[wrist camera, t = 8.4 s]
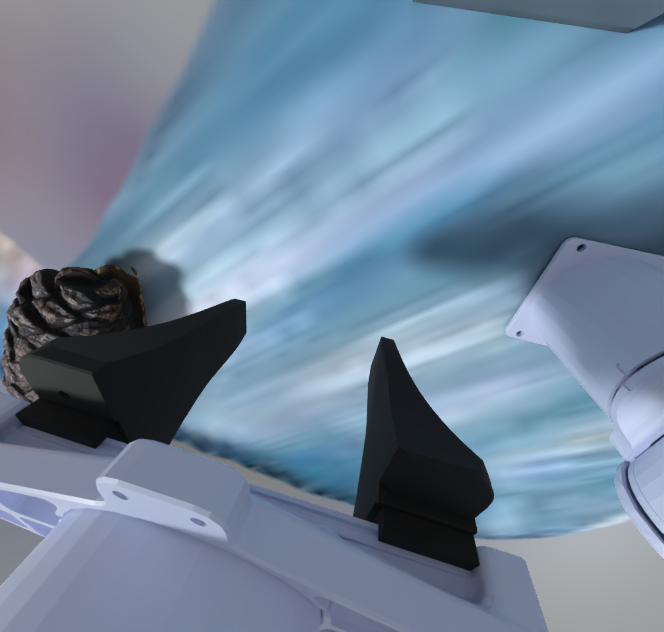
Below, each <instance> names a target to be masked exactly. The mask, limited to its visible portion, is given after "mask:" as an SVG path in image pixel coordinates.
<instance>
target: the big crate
mask: <svg viewBox="0 0 664 632" xmlns="http://www.w3.org/2000/svg"><path fill="white" fill-rule="evenodd" d="M413 2H419V3H426V4H433V5H440V6H446V7H453V8H460V9H466V10H473V11H480V12H487V13H493V14H500V15H507V16H513V17H520V18H527V19H534V20H540V21H547V22H554V23H560V24H567V25H574V26H581V27H587V28H594V29H601V30H607V31H614V32H621V33H628V32H630V31H632V30H634V29H636V28H637V27H639V26H641V25H643V24H645V23H647V22H648V21H650V20H652V19H654V18H656V17H658V16H659V15H661V14H663V13H664V0H413Z"/></svg>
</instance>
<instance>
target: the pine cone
mask: <svg viewBox="0 0 664 632" xmlns="http://www.w3.org/2000/svg"><path fill="white" fill-rule="evenodd" d="M130 268H131V269H132V271H133V272H134V274H135V275H137V273H136V271H135V270H134V268H133V267H131V266H130ZM16 296H17V298H15V299H14V301H13V304H12V305H11V306H10V307H9V309H8V310H7V312H6V313H7V314H8V315H7V319H8V322H9V323H8V326H9V327H8V328H7V329H6V330H5V332H4V334H3V337H4V340H3V347H4V348H5V350H4V352H3V359H2V364H3V366H4V372H3V373H4V377H3V380H2V383H3V384H4V386H5V387H6V389H7V391H8V392H9V393H10V395H11V396H14V397H17V398H20V399H22V400H25V401H26V402H28V403H29V404H31V403H33V402H34V401H36V400H37V399H39V397H38V395H37V394H36V393H35V391H34V390H33V388H32V387H31V386H30V384H29V383H28V381H27V380H26V378H25V377H24V376H23V374H22V372H21V370H20V367H19V361H20V358H21V357H22V356H24V355H26V354H28V353H30V352H32V351H33V350H35V349H37V348H39V347H41V346H43V345H45V344H47V343H48V342H50V341H52V340H54V339H56V338H60V337H75V336H89V335H99V334H108V333H115V332H122V331H128V330H134V329H139V328H144V327H146V322H145V312H144V301H143V294H142V285H141V283H140V281H139V280H138V279H137V278H135V277H133V276H131V275H129V274H127V273H126V272H124V271H123V270H122V269H120V268H118V267H116V266H114V265H105V266H102V267H100V268H98V269H96V270H92V269H89V268H80V267H66V268H62V269H61V271H57V270H54V269H43V270H39V271H36V272H35V273H34V274H33V275H32V276H30V277H29V278H25V279H24V280H23V281H22V282H21V283H20V286H19V288H18V291H17V292H16ZM142 302H143V305H142V304H141V303H142Z"/></svg>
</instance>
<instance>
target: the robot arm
mask: <svg viewBox="0 0 664 632" xmlns="http://www.w3.org/2000/svg"><path fill="white" fill-rule="evenodd" d="M581 244H583V247H582V248H581V249H580V250H577V247H578V246H579V245H581ZM519 331H522V332H521V333H519V334H516V333H517V332H519ZM505 333H506V334H507V336H509V337H513V338H517V339H521V340H525V341H529V342H533V343H537V344H541V345H545V346H549V347H550V348H551V349H552V351H553V352H554V353H555V354H556V355H557V357H558V358H559V359H560V360H561V361H562V363H563V364H564V365H565V366H566V367H567V369H568V370H569V371H570V372H571V373H572V375H573V376H574V377H575V378H576V379H577V381H578V382H579V383H580V384H581V385H582V387H583V388H584V389H585V390H586V391H587V393H588V394H589V395H590V396H591V397H592V399H593V400H594V401H595V402H596V403H597V405H598V406H599V407H600V408H601V409H602V411H603V412H604V413H605V414H606V415H607V417H608V418H609V419H610V420H611V421H612V423H614V430H613V432H612V434H611V435H610V436H609V440H610V441H611V442H612V444H613V445H614V446H615V447H616V449H617V450H618V451H619V453H620V454H621V455H622V457H623V458H624V459H625V461H624V462H623V463H621V464H620V465H619V466H618V468H617V470H616V472H615V477H614V483H615V488H616V492H617V494H618V497H619V499H620V502H621V504H622V505H623V507H624V509H625V511H626V513H627V514H628V516H629V517H630V519H631V520H632V522H633V523H634V524H635V526H636V527H637V529H638V530H639V531H640V533H641V534H642V535H643V536H644V537H645V539H646V540H647V541H648V542H649V544H650V545H651V546H652V547H653V548H654V549H655V550H656V551H657V552H658V553H659V554H660V555H661V557H662V558H663V559H664V256H661V255H657V254H652V253H647V252H643V251H638V250H633V249H629V248H624V247H619V246H615V245H610V244H605V243H600V242H596V241H591V240H586V239H582V238H577V237H571V238H568V239H567V240H565V241H564V242H563V243H562V245H561V246H560V248H559V249H558V251H557V252H556V254H555V255H554V257H553V258H552V260H551V261H550V263H549V264H548V266H547V267H546V269H545V270H544V272H543V273H542V275H541V276H540V278H539V279H538V281H537V282H536V284H535V285H534V287H533V288H532V290H531V291H530V293H529V294H528V295H527V297H526V298H525V300H524V301H523V303H522V304H521V306H520V307H519V309H518V310H517V312H516V313H515V315H514V316H513V318H512V319H511V321H510V322H509V324H508V325H507V327H506V328H505ZM245 334H246V301H242V300H238V299H232V300H229V301H226V302H224V303H221V304H218V305H216V306H213V307H210V308H208V309H205V310H203V311H200V312H197V313H194V314H191V315H188V316H185V317H182V318H179V319H176V320H173V321H169V322H166V323H162V324H158V325H154V326H149V327H144V328H139V329H134V330H128V331H122V332H115V333H108V334H99V335H89V336H75V337H60V338H56V339H54V340H52V341H50V342H48V343H47V344H45V345H43V346H41V347H39V348H37V349H35V350H33V351H32V352H30V353H28V354H26V355H24V356H22V357H21V358H20V361H19V367H20V370H21V372H22V374H23V376H24V377H25V378H26V380H27V381H28V383H29V384H30V386H31V387H32V388H33V390H34V391H35V393H36V394H37V395H38V397H39V399H37V400H36V401H34V402H33V403H31V404H29V403H28V402H26V401H25V400H22V399H20V398H17V397H14V396H11V395H8V394H4V393H1V392H0V518H1V519H4V520H6V521H8V522H11V523H13V524H15V525H18V526H20V527H22V528H25V529H27V530H29V531H32V532H34V533H36V534H39V535H41V536H44V537H45V538H44V540H42V542H41V543H40V544H39V545H38V546H37V547H36V548H35V549H34V550H33V551H32V552H31V554H30V555H29V556H28V557H27V558H26V559H25V560H24V561H23V562H22V563H21V564H20V565H19V567H18V568H17V569H16V570H15V571H14V572H13V573H12V574H11V575H10V576H9V577H8V578H7V579H6V581H5V582H4V583H3V584H2V585H1V586H0V632H548V629H547V626H546V623H545V619H544V617H543V613H542V610H541V608H540V605H539V601H538V598H537V595H536V592H535V589H534V586H533V583H532V580H531V577H530V574H529V571H528V568H527V565H526V562H525V560H524V559H523V558H522V557H519V556H516V555H513V554H509V553H506V552H503V551H500V550H497V549H494V548H490V547H485V546H478V547H476V545H475V540H474V535H475V534H476V533H477V527H476V522H475V518H476V517H477V516H478V515H479V514H480V513H482V512H483V511H484V510H485V509H486V508H488V506H489V505H490V504H491V503H492V501H493V499H494V492H493V489H492V486H491V482H490V479H489V475H488V473H487V470H486V468H485V465H484V462H483V460H482V459H480V458H479V457H478V456H477V455H476V454H475V453H474V452H473V451H472V450H471V449H469V448H468V447H467V446H466V445H465V444H464V443H463V442H462V441H461V440H460V439H459V438H458V437H457V436H456V435H455V434H454V433H453V432H452V431H451V430H450V429H449V428H448V427H447V426H446V425H445V423H444V422H443V421H442V420H441V419H440V418H439V417H438V415H437V414H436V413H435V412H434V411H433V409H432V408H431V407H430V405H429V404H428V403H427V402H426V400H425V399H424V397H423V396H422V394H421V393H420V392H419V390H418V388H417V387H416V385H415V383H414V382H413V380H412V378H411V376H410V375H409V373H408V371H407V369H406V367H405V365H404V363H403V361H402V358H401V356H400V354H399V351H398V349H397V347H396V344H395V342H394V340H392V339H388V338H384V337H381V339H380V342H379V345H378V348H377V351H376V354H375V356H374V359H373V362H372V365H371V370H370V376H369V382H368V401H367V426H366V436H365V443H364V450H363V457H362V464H361V470H360V477H359V483H358V489H357V496H356V502H355V507H354V514H353V516H350V515H347V514H344V513H340V512H337V511H334V510H331V509H328V508H325V507H321V506H319V505H316V504H312V503H309V502H306V501H303V500H300V499H297V498H294V497H290V496H287V495H284V494H281V493H278V492H275V491H272V490H269V489H266V488H263V487H260V486H256V485H253V484H250V483H248V482H247V480H246V478H245V476H243V475H242V474H241V473H240V472H239V471H237V470H236V469H235V468H233V467H231V466H229V465H227V464H225V463H223V462H220V461H217V460H214V459H211V458H207V457H205V456H202V455H198V454H195V453H192V452H189V451H185V450H183V449H179V448H176V447H173V446H170V445H169V444H170V443H171V441H172V439H173V437H174V436H175V434H176V432H177V431H178V429H179V427H180V425H181V424H182V422H183V420H184V419H185V417H186V415H187V414H188V412H189V411H190V409H191V408H192V406H193V404H194V403H195V401H196V400H197V398H198V397H199V395H200V394H201V392H202V391H203V389H204V388H205V386H206V385H207V384H208V382H209V381H210V380H211V379H212V377H213V376H214V375H215V374H216V373H217V371H218V370H219V369H220V368H221V367H222V365H223V364H224V363H225V362H226V361H227V360H228V358H229V357H230V356H231V355H232V353H233V352H234V351H235V350H236V349H237V347H238V346H239V344H240V343H241V341H242V339H243V338H244V336H245ZM473 534H474V535H473Z"/></svg>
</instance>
